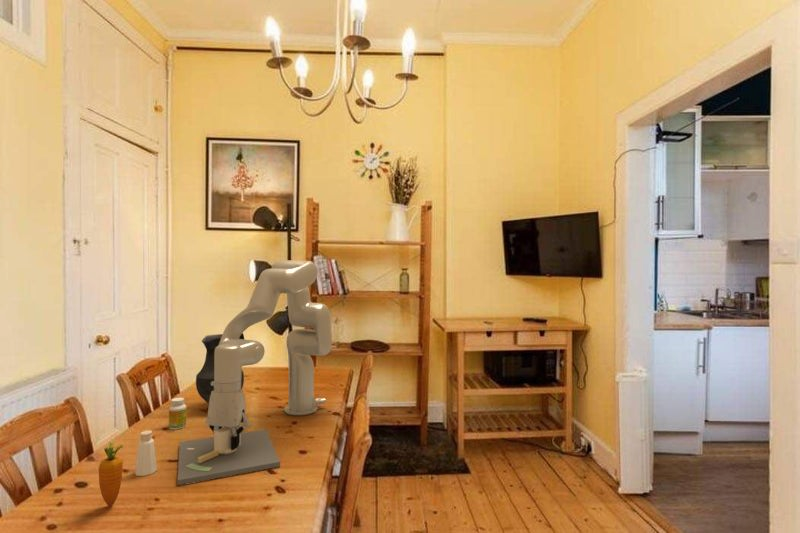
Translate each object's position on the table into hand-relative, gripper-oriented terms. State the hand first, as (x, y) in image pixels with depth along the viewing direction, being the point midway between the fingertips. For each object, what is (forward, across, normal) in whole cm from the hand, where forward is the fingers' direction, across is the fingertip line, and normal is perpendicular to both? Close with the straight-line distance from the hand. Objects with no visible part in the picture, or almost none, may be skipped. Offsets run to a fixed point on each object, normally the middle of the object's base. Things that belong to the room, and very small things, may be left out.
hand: (227, 446), depth 131 cm
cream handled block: (+1, -1, -3) cm, 3 cm away
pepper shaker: (+3, -16, -13) cm, 21 cm away
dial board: (+3, 0, 0) cm, 3 cm away
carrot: (+3, -12, -29) cm, 32 cm away
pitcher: (+3, -26, +40) cm, 47 cm away
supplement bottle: (+3, -29, +17) cm, 34 cm away
